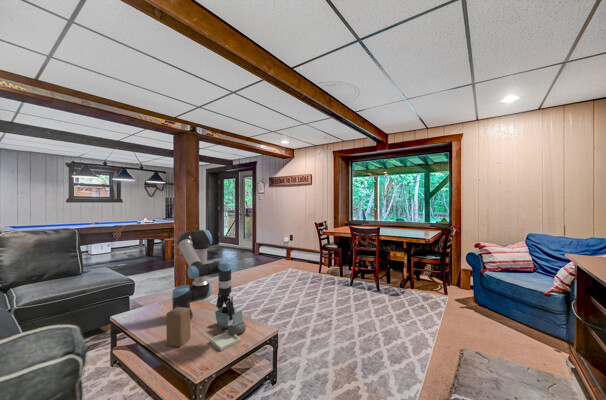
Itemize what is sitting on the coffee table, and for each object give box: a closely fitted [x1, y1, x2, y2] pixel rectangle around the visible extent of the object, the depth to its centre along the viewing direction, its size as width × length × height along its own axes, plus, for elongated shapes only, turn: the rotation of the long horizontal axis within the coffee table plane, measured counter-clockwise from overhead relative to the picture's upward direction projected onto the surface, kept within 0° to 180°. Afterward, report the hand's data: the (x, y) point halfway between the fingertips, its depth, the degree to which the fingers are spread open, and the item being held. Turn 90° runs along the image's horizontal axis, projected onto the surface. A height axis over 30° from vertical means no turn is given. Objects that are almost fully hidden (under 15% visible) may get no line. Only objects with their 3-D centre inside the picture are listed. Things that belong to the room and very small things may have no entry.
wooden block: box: [165, 307, 191, 348], centre depth 159 cm, size 10×10×20 cm
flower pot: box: [214, 305, 236, 326], centre depth 158 cm, size 9×9×9 cm
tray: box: [209, 330, 242, 352], centre depth 159 cm, size 13×13×2 cm
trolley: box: [218, 309, 247, 337], centre depth 172 cm, size 19×9×15 cm, turn 46°
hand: (225, 321), depth 158 cm, fingers closed on flower pot, 10 cm apart
